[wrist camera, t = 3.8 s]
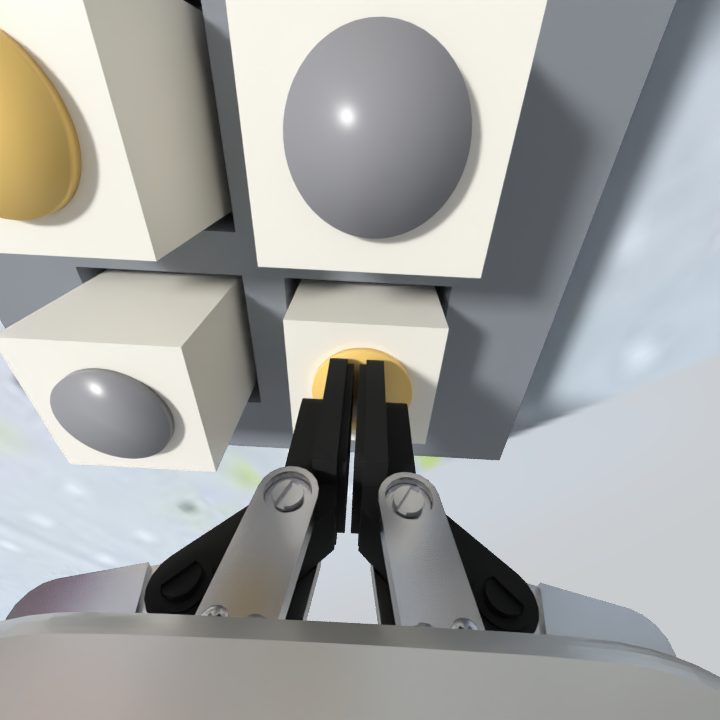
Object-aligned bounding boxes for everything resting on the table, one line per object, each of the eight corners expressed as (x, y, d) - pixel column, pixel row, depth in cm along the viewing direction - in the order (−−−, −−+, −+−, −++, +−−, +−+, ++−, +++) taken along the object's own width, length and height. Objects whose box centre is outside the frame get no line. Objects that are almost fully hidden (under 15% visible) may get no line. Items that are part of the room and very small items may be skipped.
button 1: (202, 11, 9) (46, -81, 5) (232, 210, 12) (149, 266, 8) (16, 3, 9) (-305, -97, 5) (88, 203, 12) (-78, 253, 8)
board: (640, -110, 9) (756, -209, 7) (481, 409, 20) (499, 460, 17) (-121, -144, 10) (-336, -255, 7) (113, 388, 20) (68, 435, 17)
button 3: (476, 25, 9) (568, -57, 5) (444, 221, 12) (484, 283, 8) (288, 15, 9) (209, -74, 5) (298, 214, 12) (253, 271, 8)
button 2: (242, 274, 13) (175, 353, 9) (257, 379, 16) (212, 479, 12) (111, 267, 13) (-20, 343, 9) (149, 372, 16) (63, 471, 12)
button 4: (428, 267, 15) (450, 333, 10) (413, 365, 17) (426, 450, 13) (309, 261, 15) (280, 324, 10) (313, 359, 17) (291, 443, 13)
